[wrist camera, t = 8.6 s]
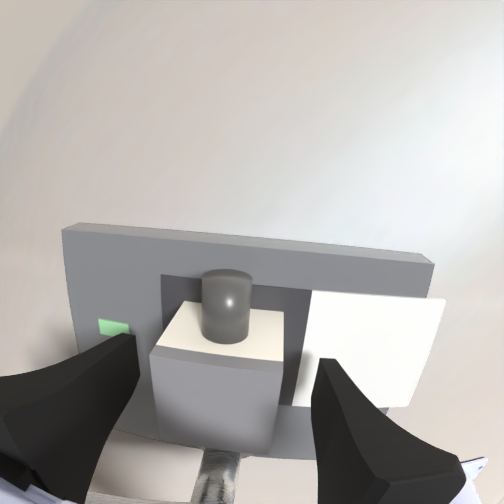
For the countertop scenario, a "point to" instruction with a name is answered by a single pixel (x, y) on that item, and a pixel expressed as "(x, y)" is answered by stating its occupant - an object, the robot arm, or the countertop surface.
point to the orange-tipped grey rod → (206, 487)
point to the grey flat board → (263, 298)
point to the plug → (220, 369)
